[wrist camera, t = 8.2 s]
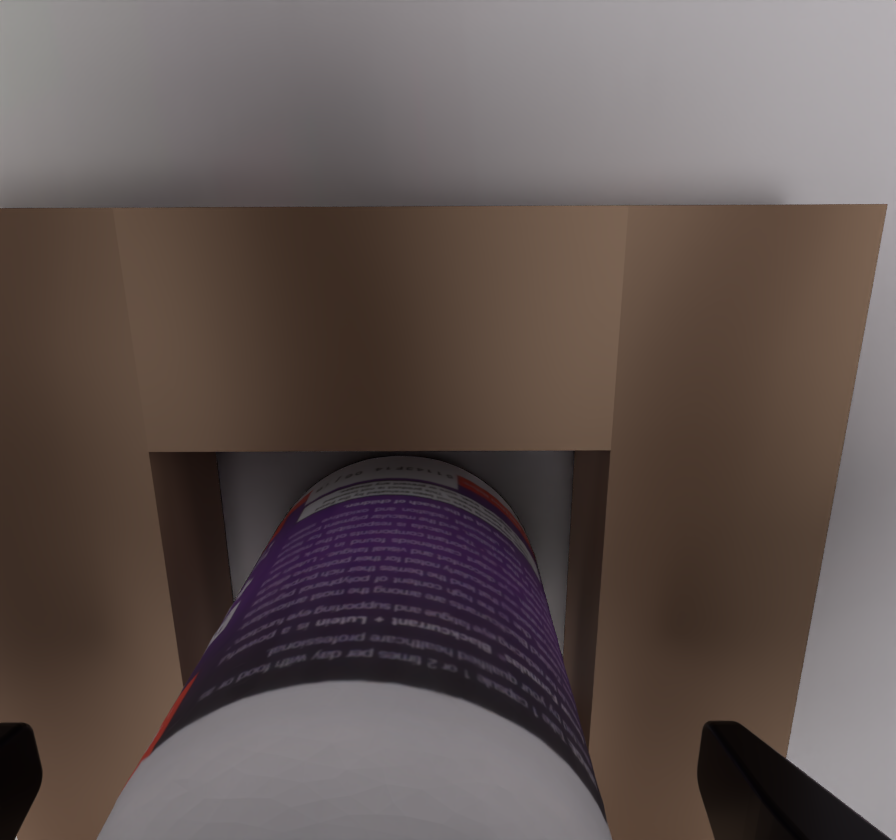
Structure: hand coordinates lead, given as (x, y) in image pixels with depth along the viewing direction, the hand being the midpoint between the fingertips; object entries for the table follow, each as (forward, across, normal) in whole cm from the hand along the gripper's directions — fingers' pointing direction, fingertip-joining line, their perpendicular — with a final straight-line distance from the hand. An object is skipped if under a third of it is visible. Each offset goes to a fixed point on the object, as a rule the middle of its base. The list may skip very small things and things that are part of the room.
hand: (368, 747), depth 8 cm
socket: (+5, 0, 0) cm, 5 cm away
